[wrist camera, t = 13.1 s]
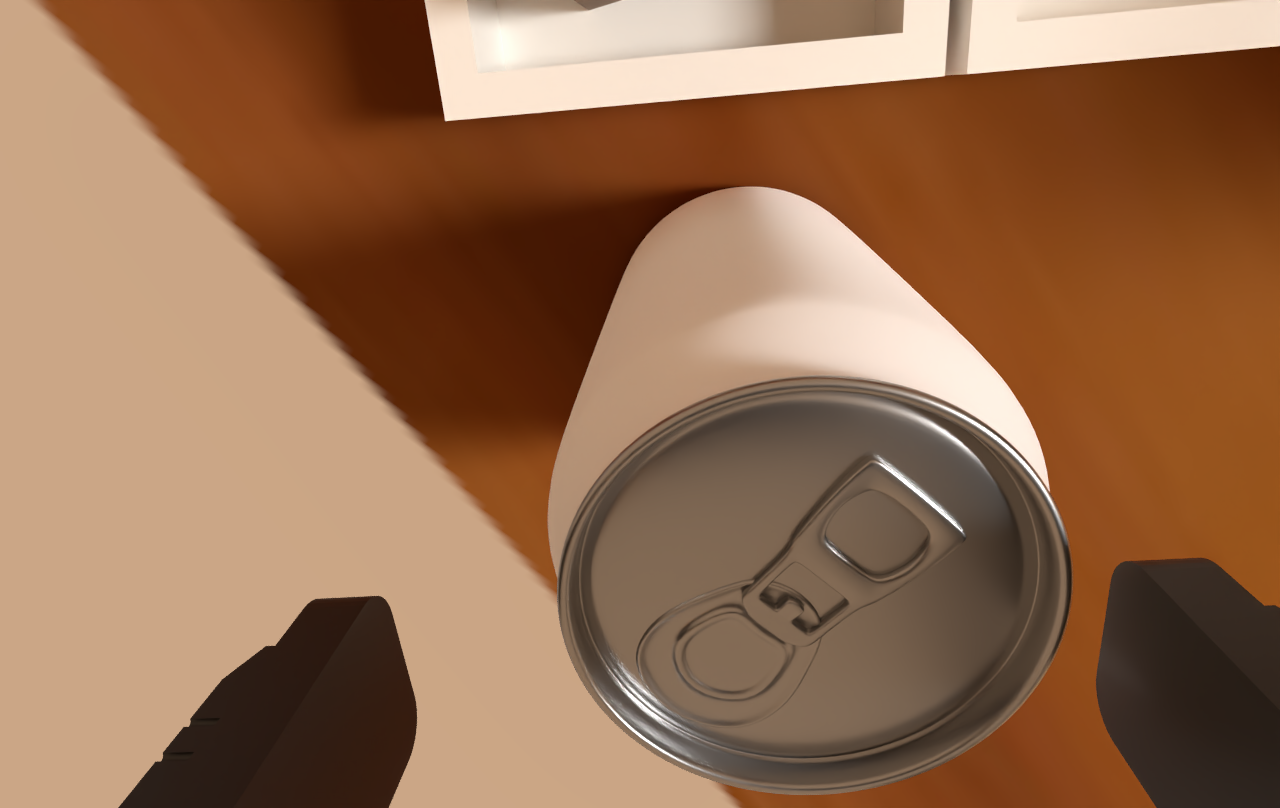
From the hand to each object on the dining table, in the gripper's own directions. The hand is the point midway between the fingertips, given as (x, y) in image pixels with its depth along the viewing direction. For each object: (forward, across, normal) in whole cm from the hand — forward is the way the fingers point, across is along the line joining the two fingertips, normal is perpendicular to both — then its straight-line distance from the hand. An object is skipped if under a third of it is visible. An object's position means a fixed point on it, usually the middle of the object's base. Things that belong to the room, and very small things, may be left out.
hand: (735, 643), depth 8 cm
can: (+12, -1, 0) cm, 12 cm away
